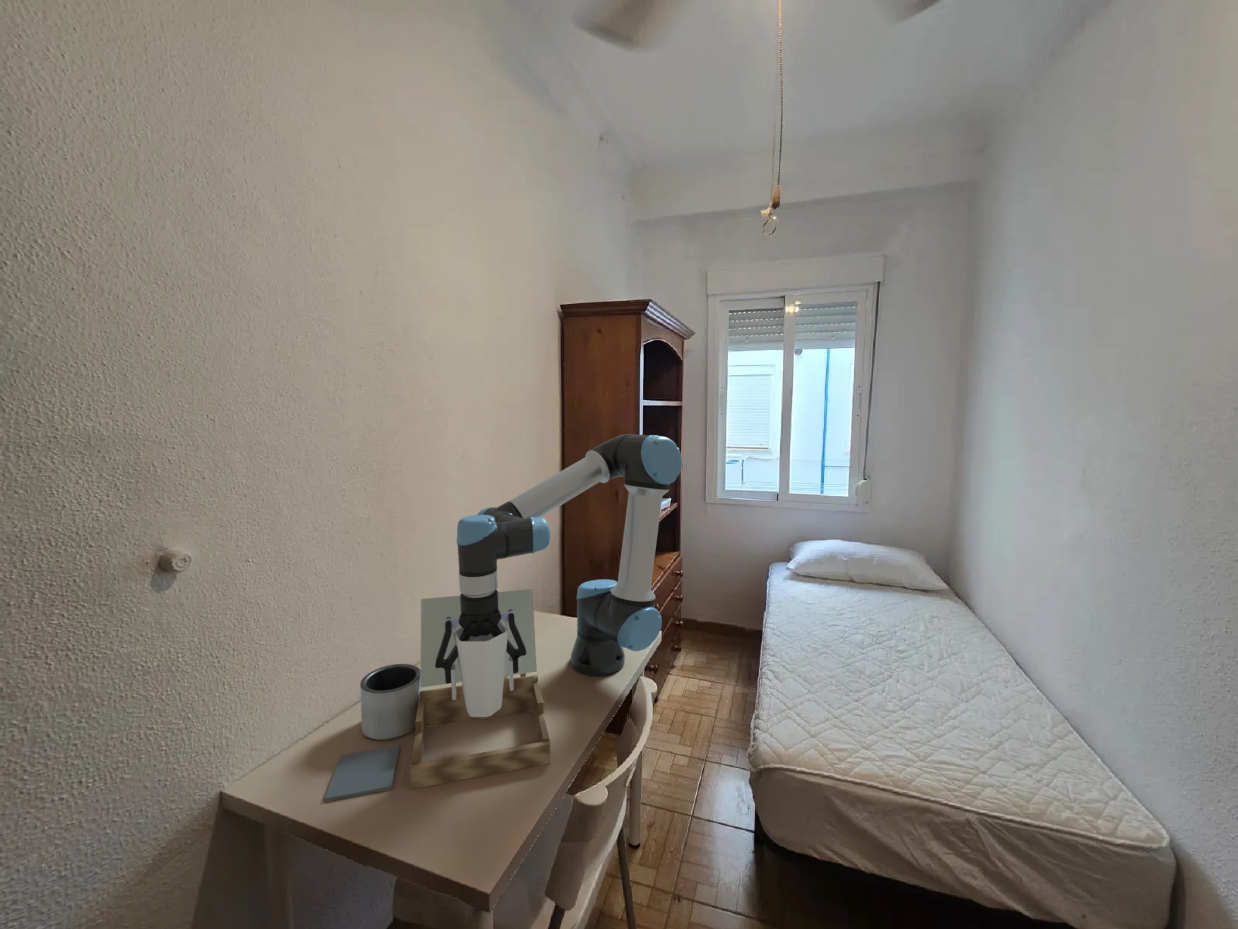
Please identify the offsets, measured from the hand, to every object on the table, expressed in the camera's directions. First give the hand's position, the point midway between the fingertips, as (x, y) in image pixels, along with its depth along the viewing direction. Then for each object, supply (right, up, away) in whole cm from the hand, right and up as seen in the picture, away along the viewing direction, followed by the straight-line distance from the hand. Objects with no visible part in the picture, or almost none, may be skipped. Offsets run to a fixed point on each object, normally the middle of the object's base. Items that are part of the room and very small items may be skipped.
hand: (483, 691), depth 106 cm
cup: (0, -4, 0) cm, 4 cm away
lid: (-4, +8, +12) cm, 15 cm away
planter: (-22, -11, +7) cm, 26 cm away
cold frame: (-1, -11, +3) cm, 12 cm away
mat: (-21, -12, -8) cm, 25 cm away
